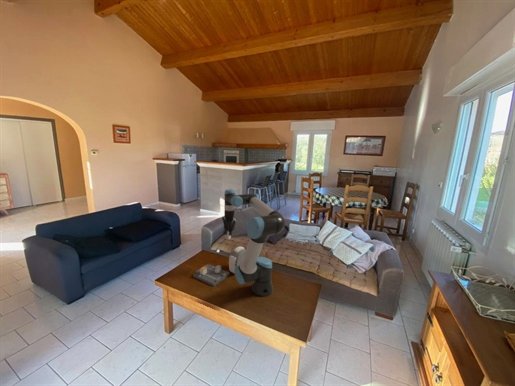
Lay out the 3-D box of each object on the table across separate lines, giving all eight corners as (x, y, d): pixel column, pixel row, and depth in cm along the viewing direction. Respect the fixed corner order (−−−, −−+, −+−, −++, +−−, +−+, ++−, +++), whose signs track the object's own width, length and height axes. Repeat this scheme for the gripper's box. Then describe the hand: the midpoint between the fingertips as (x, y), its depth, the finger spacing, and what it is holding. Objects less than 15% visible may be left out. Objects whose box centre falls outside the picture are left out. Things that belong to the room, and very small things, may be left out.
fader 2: (221, 271, 171) (221, 266, 170) (217, 273, 168) (217, 268, 167) (218, 270, 173) (218, 264, 172) (214, 272, 170) (214, 267, 169)
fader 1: (206, 272, 169) (206, 267, 168) (203, 275, 165) (203, 269, 164) (204, 271, 170) (203, 266, 169) (200, 273, 167) (200, 268, 166)
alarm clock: (241, 264, 187) (242, 242, 183) (249, 267, 183) (250, 245, 178) (227, 273, 173) (227, 250, 169) (235, 277, 168) (236, 253, 164)
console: (229, 274, 171) (229, 270, 171) (214, 286, 156) (214, 282, 156) (209, 266, 182) (209, 262, 181) (193, 276, 167) (193, 272, 166)
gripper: (239, 210, 165) (238, 239, 170) (225, 207, 172) (225, 235, 176) (233, 212, 159) (232, 242, 164) (219, 209, 165) (219, 238, 170)
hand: (229, 238), depth 170 cm, fingers closed
